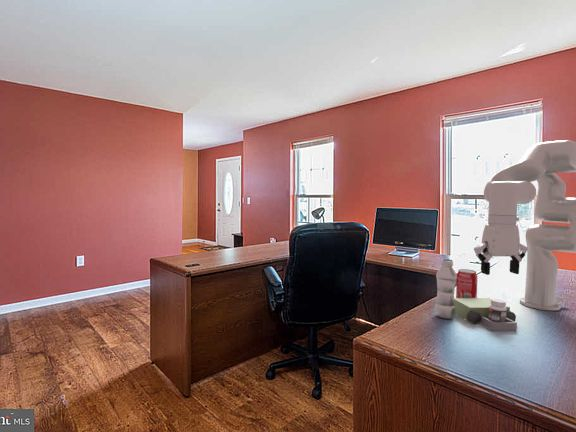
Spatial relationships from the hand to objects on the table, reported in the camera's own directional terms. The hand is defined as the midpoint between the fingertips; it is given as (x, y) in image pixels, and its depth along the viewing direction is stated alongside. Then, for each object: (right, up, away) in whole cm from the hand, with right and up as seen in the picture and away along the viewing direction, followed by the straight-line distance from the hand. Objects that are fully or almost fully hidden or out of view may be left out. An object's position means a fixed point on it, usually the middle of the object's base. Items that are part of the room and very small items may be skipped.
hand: (499, 273), depth 105 cm
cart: (-1, -17, +6) cm, 18 cm away
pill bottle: (-1, -17, +1) cm, 17 cm away
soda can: (+2, -16, +23) cm, 28 cm away
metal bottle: (-14, -17, +8) cm, 23 cm away
